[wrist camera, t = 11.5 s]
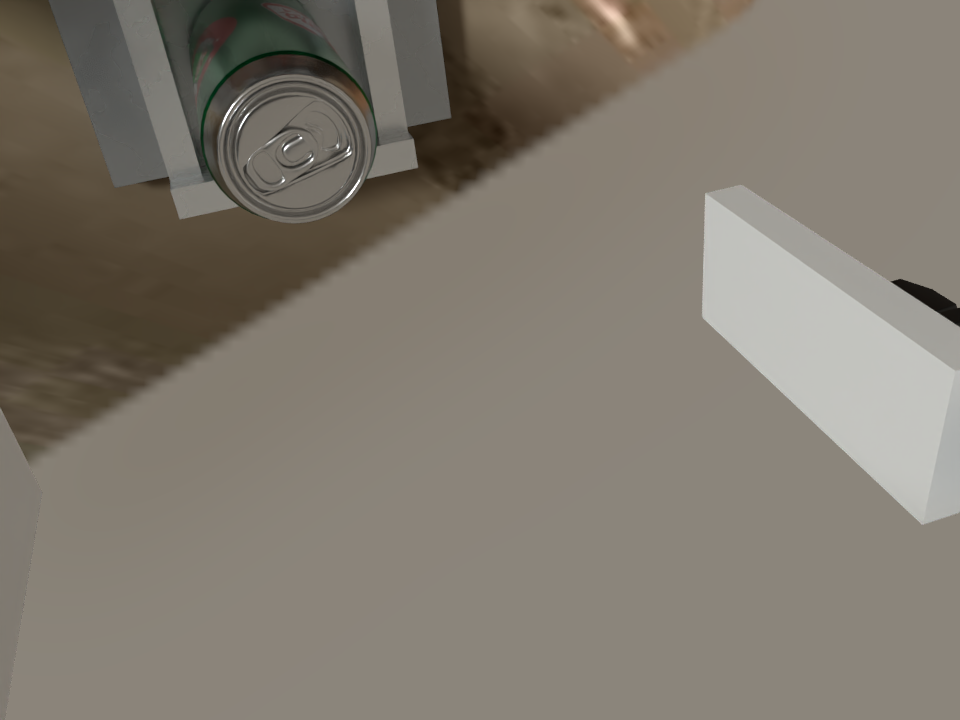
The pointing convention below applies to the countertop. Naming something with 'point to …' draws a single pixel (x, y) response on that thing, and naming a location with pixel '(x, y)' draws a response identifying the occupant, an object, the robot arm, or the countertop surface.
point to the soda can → (278, 111)
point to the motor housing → (170, 93)
